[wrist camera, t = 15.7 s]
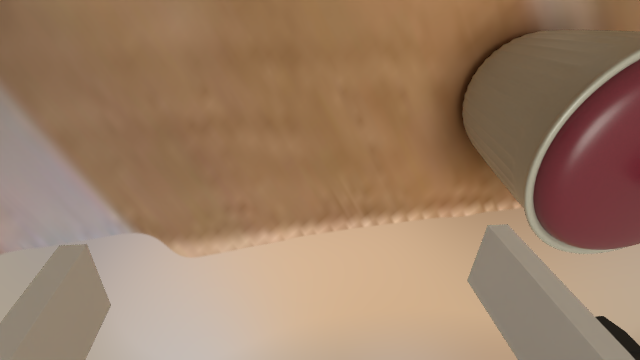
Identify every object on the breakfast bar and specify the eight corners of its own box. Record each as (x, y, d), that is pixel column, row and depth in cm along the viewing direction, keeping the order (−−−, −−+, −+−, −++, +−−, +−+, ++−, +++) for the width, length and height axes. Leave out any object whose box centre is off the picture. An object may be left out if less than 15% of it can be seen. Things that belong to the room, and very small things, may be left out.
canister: (458, -2, 33) (681, 29, 15) (622, 8, 36) (979, 45, 18) (419, 164, 42) (529, 305, 24) (551, 163, 45) (740, 290, 27)
